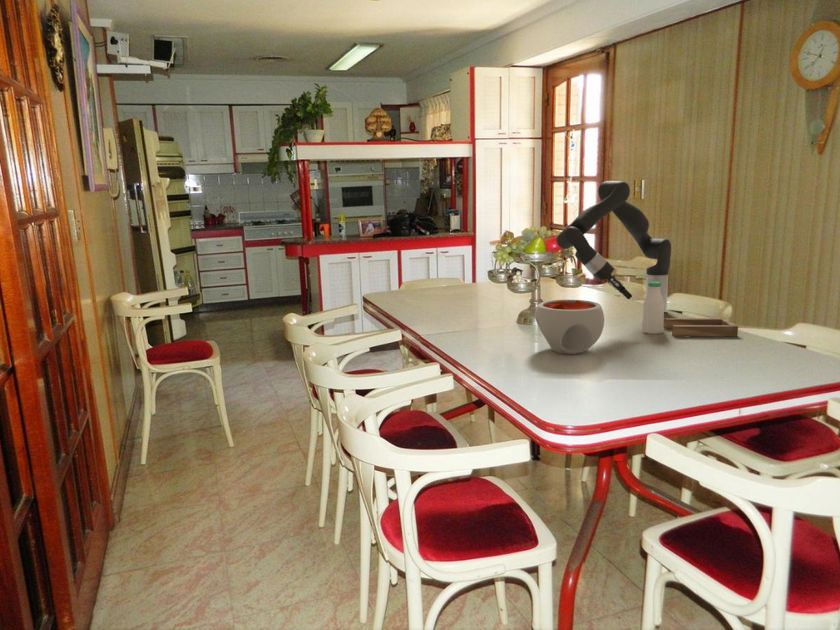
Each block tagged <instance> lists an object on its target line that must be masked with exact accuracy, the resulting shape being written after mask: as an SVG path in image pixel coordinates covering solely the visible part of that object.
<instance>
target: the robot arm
mask: <svg viewBox="0 0 840 630" xmlns="http://www.w3.org/2000/svg"><path fill="white" fill-rule="evenodd" d="M597 192H598V193H597V194H598V198H599V199H600V202H598V203H595V204H594V205H592V206H589V207H588V208H586V209H585V210H583V211H582V212H581V213H579V215H578V216H577V217H576V218H575V219H574V220H573V221H572V222H571V223H570V224H569V225H567V226H566V227H565V228H563V230H562V231H561V232H560V233H559V234H558V235H557V237H556V244H557V246H558V247H559V248H560V249H562V250H563V249H564V250H567V249H571V248H572V247H573V248H574V249H575V253H574V256H575V258H576V259H577V260H578V261H579V262H580V263H581V264H582V265H583V266H584V267H585V269H586V270H588V272H589V273H590V274H591V275H592V276H594V277H595V278H596V279H597V280H598V282H603V281H605V280H607V281H606V283H607V284H608V285H609V286H611V287H612V288H614V290H615V291H618V292H619V293H620V294H622V296H624V297H625V298H626V299H627V300H630V299H632V297H633V294H631V292H629V291H628V290H627V288H626V287H625V286H624V284H623V282H622V281H620V280H619V278H618V277H617V276H616V275H615V274H613V275H612V273H613V272H614V270H615V268H614V266H613V265H612V264H610V262H609V261H608V260H606V258H604V257H603V256H602V255H601V254H600V253H599V252H597V251H596V250H595V249H594V248H593V247H592V246H591V245H590V243H589V241H588V239H587V238H586V237H585V234H586V233H588V232H589V231H590V230H591V229H592V228H594V226H595V225H596V224H597V223H598V222H599V221H600V220H602V219H603V218H604V217H605V216H607V215H608V214H610V213H611V212H612V213H613V214H614V215H615V216H616V218H617V219H618V220H619V222H620V223H621V224H622V225H623V226H624V228H625V229H626V230H627V232H628V233H629V234H630V235H631V236H632V238H633V239H634V241H635V242H636V243H637V245H638V247H639V249H640V251H641V252H642V254H644V256H645V257H646V258H648V259H650V260H651V259H653V260H657V261H656V264H654V265H652V266H651V265H650V266H648V267H646V271H645V272H646V277H645V297H646V296H647V294H648V291H649V288H648V287H649V286H648V283H649V282H661V288H660V292H661V295H662V297H663V300H664V312H665V313H667V305H668V289H669V288H668V285H669V283H668V282H669V269H670V267H671V257H672V256H671V255H672V243H671V241H670V240H669V239H668V238H657V237H652V236H650V235H649V233H648V231H649V227H650V222H649V220H648V218H647V217H646V215H645V214H644V213H643V211H642V210H641V209H640V208H638V207H636V206H635V205H633V204H631V203H630V202H628V201H627V200H628V199H629V197H630V194H631V188H630V185H629V184H628V183H627V182H625V181H623V180H622V181H621V180H606V181H603V182H602V183H600V184H599V186H598V191H597Z"/></svg>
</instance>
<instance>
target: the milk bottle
mask: <svg viewBox="0 0 840 630" xmlns="http://www.w3.org/2000/svg"><path fill="white" fill-rule="evenodd" d="M648 286H649V287H648V288H649V291H648V294H647V296H646V295H645V298H644V301H643V308H642V309H643V310H642V327H641V328H642V332H643V333H644V334H648V335H659V334H660V335H661V334H663V333H664V320H665V313H664V300H663V297H662V295H661V292H660V288H661V282H649V283H648Z"/></svg>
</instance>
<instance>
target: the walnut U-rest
mask: <svg viewBox="0 0 840 630" xmlns="http://www.w3.org/2000/svg"><path fill="white" fill-rule="evenodd" d="M663 329H664V330H671V332H672V333H671V336H672V337H673V336H674V337H675V338H682V336H684V337H685V336H737V337H738V336H739V334H738V333H739V325H736V324H735V323H733V322H732V321H730V320H728V319H727V318H725V317H724V318H723V317H722V318H721V317H717V318H715V317H709V318H707V317H705V318H703V317H701V318H699V317H698V318H695V317H694V318H693V317H692V318H691V317H687V318H686V317H685V318H684V317H683V318H681V317H680V318H679V317H677V318H674V317H673V318H668V317H667V318H665V317H664V325H663ZM679 336H681V337H679ZM684 337H683V338H684Z"/></svg>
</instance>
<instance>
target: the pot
mask: <svg viewBox="0 0 840 630" xmlns="http://www.w3.org/2000/svg"><path fill="white" fill-rule="evenodd" d="M534 318H535V321H536V324H537V327H538V328H539V331H540V332H541V334H542V335H543V336H544V339H545V340H546V342H547V344H548V345H549V347H550V348H551V350H552V351H554V352H556V353H558V354H562V355H564V354H565V355H576V354H577V355H578V354H581V353H583V352H586V351H587V350H589V349H591V348H592V347H593V346H594V345H595V344H596V343H597V342H598V341H599V340H600V337H601V336H602V333H603V330H604V327H605V314H604V310H603V308H602V305H601V304H600V303H598V302H595V301H590V300H583V299H554V300H546V301H543V302H540V303H539V304H537V306H536V309H535V312H534Z"/></svg>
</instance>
